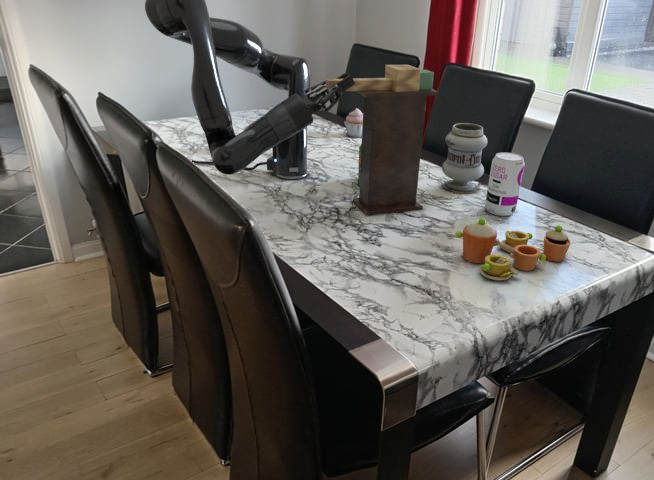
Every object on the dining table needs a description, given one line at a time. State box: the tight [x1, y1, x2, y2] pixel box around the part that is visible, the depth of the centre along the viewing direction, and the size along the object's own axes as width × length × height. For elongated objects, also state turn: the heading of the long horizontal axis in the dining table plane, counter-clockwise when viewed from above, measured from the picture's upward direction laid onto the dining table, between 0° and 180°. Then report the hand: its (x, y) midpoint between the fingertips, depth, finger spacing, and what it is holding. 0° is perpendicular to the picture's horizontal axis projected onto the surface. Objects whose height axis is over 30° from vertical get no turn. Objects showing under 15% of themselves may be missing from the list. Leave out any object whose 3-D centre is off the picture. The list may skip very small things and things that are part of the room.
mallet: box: [325, 64, 422, 92], centre depth 136 cm, size 22×7×5 cm, turn 113°
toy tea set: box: [455, 217, 572, 281], centre depth 127 cm, size 26×16×10 cm, turn 122°
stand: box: [352, 88, 439, 216], centre depth 147 cm, size 19×10×30 cm, turn 113°
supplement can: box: [484, 151, 526, 217], centre depth 151 cm, size 8×8×15 cm
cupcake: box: [343, 107, 363, 138], centre depth 212 cm, size 9×9×10 cm
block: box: [419, 69, 435, 90], centre depth 141 cm, size 4×4×4 cm
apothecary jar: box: [441, 122, 488, 194], centre depth 165 cm, size 12×12×18 cm
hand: (349, 78), depth 134 cm, fingers closed on mallet, 2 cm apart
